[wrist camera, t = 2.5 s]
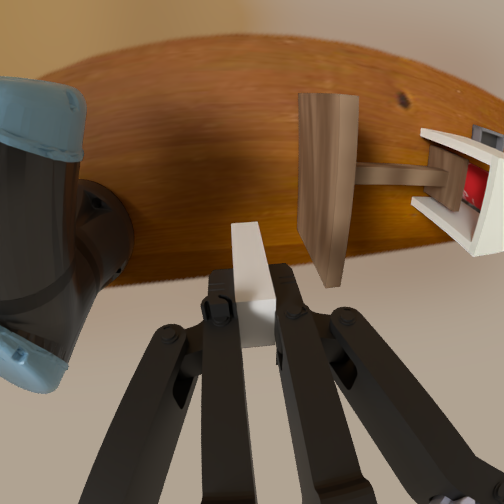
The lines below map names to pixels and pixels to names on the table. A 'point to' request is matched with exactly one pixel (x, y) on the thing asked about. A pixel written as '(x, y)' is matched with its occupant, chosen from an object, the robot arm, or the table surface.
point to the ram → (352, 177)
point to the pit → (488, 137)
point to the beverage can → (475, 185)
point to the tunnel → (467, 219)
